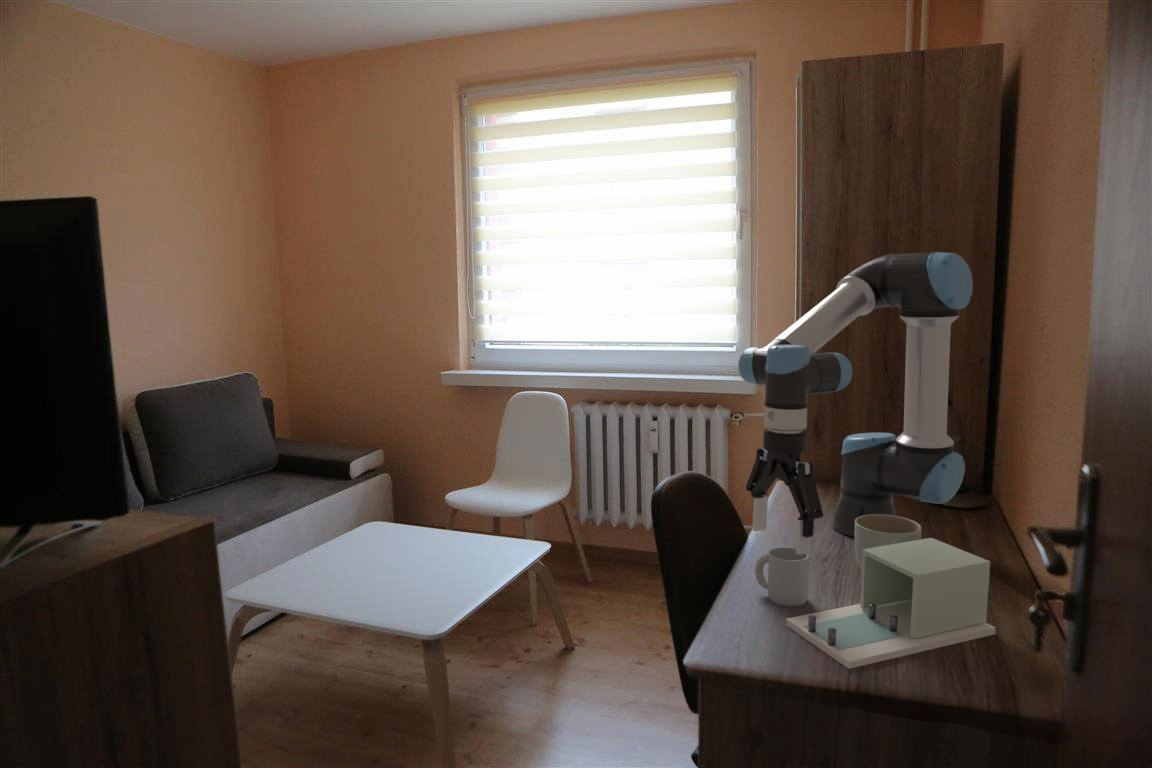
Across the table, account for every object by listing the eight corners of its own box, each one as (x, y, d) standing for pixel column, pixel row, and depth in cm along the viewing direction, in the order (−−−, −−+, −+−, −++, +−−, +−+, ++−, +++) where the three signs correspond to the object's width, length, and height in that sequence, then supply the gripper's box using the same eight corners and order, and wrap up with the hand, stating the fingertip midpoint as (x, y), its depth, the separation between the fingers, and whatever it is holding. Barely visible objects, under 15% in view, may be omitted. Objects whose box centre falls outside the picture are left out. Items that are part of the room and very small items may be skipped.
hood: (928, 593, 141) (931, 537, 139) (986, 621, 129) (990, 561, 128) (859, 607, 135) (862, 549, 134) (913, 638, 124) (917, 575, 122)
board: (921, 597, 143) (921, 590, 143) (995, 634, 128) (995, 627, 128) (785, 625, 132) (785, 618, 132) (848, 668, 117) (849, 661, 117)
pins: (872, 616, 132) (872, 602, 132) (898, 631, 127) (899, 617, 126) (806, 630, 128) (807, 616, 127) (831, 646, 122) (831, 632, 122)
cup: (801, 610, 138) (802, 563, 137) (748, 598, 143) (749, 553, 142) (812, 596, 144) (813, 551, 143) (760, 585, 149) (761, 542, 148)
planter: (842, 565, 159) (844, 515, 158) (899, 562, 160) (902, 513, 159) (869, 589, 147) (871, 535, 145) (930, 586, 148) (934, 532, 146)
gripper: (730, 419, 149) (727, 523, 152) (811, 444, 126) (806, 566, 129) (762, 416, 152) (759, 519, 155) (848, 441, 129) (842, 561, 132)
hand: (780, 541), depth 142 cm, fingers open, 13 cm apart
